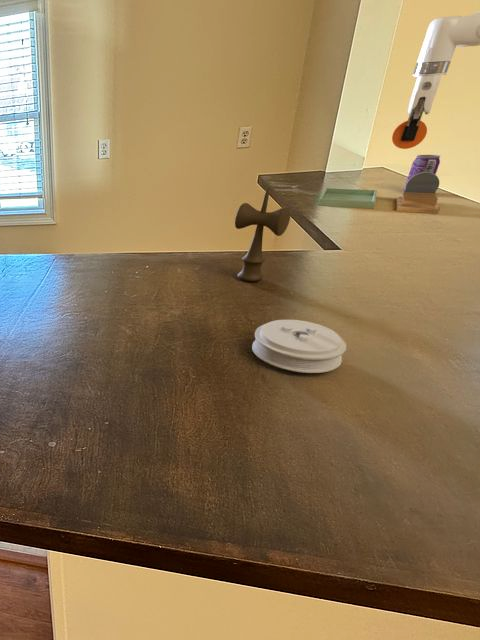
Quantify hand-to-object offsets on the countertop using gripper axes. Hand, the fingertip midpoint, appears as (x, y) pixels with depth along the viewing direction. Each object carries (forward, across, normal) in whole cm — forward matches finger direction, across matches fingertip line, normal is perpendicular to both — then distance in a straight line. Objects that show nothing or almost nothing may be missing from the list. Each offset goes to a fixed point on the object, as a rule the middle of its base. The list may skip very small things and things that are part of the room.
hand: (407, 140), depth 145 cm
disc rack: (+19, +1, -8) cm, 21 cm away
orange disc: (-2, 0, 0) cm, 2 cm away
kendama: (+20, -85, +25) cm, 91 cm away
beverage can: (+20, +23, -8) cm, 31 cm away
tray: (+20, +4, +11) cm, 23 cm away
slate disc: (+14, +5, -8) cm, 16 cm away
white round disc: (+20, -119, +12) cm, 121 cm away
